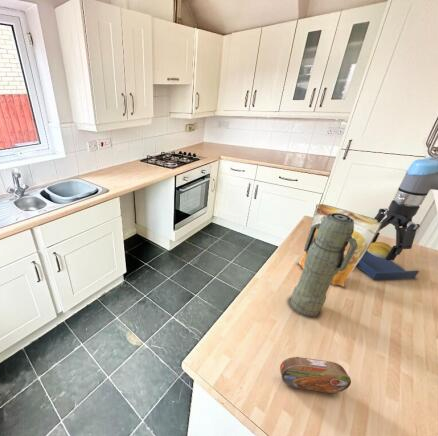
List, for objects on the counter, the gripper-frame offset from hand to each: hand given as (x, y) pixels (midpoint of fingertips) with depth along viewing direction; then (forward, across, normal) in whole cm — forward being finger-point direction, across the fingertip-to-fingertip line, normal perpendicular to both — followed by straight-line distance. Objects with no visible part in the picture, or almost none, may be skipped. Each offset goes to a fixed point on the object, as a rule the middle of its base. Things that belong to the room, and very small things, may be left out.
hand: (379, 252), depth 99 cm
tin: (+6, +45, -56) cm, 72 cm away
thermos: (+6, +21, -42) cm, 47 cm away
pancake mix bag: (+6, +5, -26) cm, 27 cm away
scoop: (+6, 0, -5) cm, 7 cm away
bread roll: (0, 0, 0) cm, 0 cm away
